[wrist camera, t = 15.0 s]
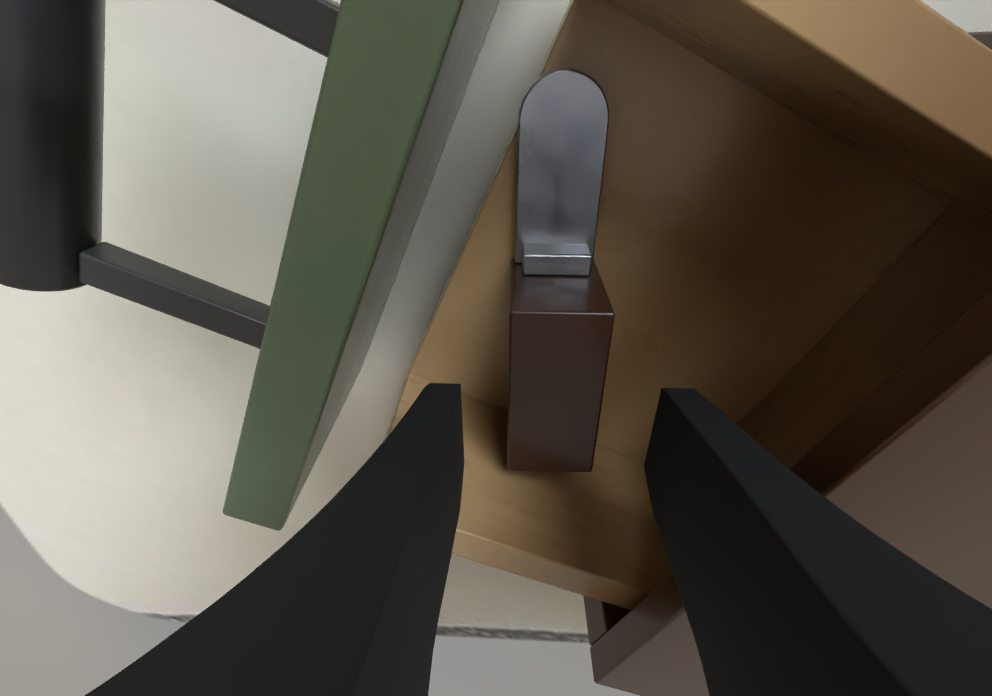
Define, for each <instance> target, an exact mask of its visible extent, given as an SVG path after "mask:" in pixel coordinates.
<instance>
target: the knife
mask: <svg viewBox="0 0 992 696" xmlns="http://www.w3.org/2000/svg"><path fill="white" fill-rule="evenodd" d="M608 126H609V106H608V102H607V99H606V96H605V94H604V92H603V90H602V88H601V87H600V85H599V84H598V83H597V82H596V81H595V80H594V79H593V78H592V77H590V76H589V75H587V74H586V73H583V72H581V71H578V70H574V69H557V70H553V71H550V72H548V73H546V74H544V75H542V76H541V77H540V78H538V79H537V80H536V81H535V82H534V83H533V84H532V85H531V86H530V87H529V89H528V90H527V92H526V93H525V95H524V97H523V99H522V102H521V105H520V109H519V114H518V145H517V190H516V235H515V259H511V269H510V308H509V364H508V423H507V469H508V470H526V471H563V472H591V471H592V468H593V461H594V454H595V448H596V441H597V434H598V427H599V420H600V414H601V407H602V400H603V393H604V386H605V380H606V373H607V366H608V359H609V353H610V346H611V339H612V332H613V325H614V319H615V313H614V310H613V308H612V305H611V302H610V300H609V297H608V294H607V292H606V289H605V287H604V284H603V281H602V279H601V276H600V273H599V271H598V268H597V266H596V263H595V260H593V259H594V250H595V241H596V232H597V223H598V214H599V206H600V197H601V188H602V179H603V170H604V161H605V152H606V144H607V135H608Z"/></svg>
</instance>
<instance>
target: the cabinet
mask: <svg viewBox="0 0 992 696" xmlns="http://www.w3.org/2000/svg"><path fill="white" fill-rule="evenodd" d="M968 34H969V35H971V36H972V37H974V38H975V39H977V40H978V41H979V42H981V43H982V44H984V45H985V46H987V47H988V48H990V49H991V50H992V32H971V33H968ZM789 469H790V470H791V471H792V472H793V473H795V474H796V475H797V476H798V477H800V478H801V479H802V480H803V481H805V482H806V483H807V484H808V485H810V486H811V487H812V488H814V489H815V490H816V491H818V492H819V493H820V494H822V495H823V496H824V497H825V498H827V499H828V500H829V501H831V502H832V503H833V504H835V505H836V506H837V507H839V508H840V509H841V510H843V511H844V512H845V513H847V514H848V515H849V516H851V517H852V518H853V519H855V520H856V521H858V522H859V523H860V524H862V525H863V526H865V527H866V528H867V529H869V530H870V531H872V532H873V533H874V534H876V535H877V536H879V537H880V538H882V539H883V540H885V541H886V542H888V543H889V544H891V545H892V546H894V547H895V548H897V549H898V550H900V551H901V552H903V553H904V554H906V555H907V556H909V557H910V558H912V559H913V560H915V561H916V562H917V563H919V564H920V565H922V566H923V567H925V568H926V569H928V570H930V571H931V572H933V573H934V574H936V575H937V576H939V577H941V578H942V579H944V580H945V581H947V582H948V583H950V584H952V585H953V586H955V587H956V588H958V589H960V590H961V591H963V592H964V593H966V594H968V595H969V596H971V597H973V598H974V599H976V600H978V601H979V602H981V603H983V604H984V605H986V606H988V607H989V608H991V609H992V287H991V288H990V289H989V290H988V291H987V292H985V293H984V294H983V295H982V296H981V297H980V298H979V299H978V300H977V301H975V302H974V303H973V304H972V305H971V306H970V307H969V308H968V309H966V310H965V311H964V312H963V313H962V314H961V315H960V316H959V317H958V318H956V319H955V320H954V321H953V322H952V323H951V324H950V325H949V326H948V327H946V328H945V329H944V330H943V331H942V332H941V333H940V334H939V335H937V336H936V337H935V338H934V339H933V340H932V341H931V342H930V343H929V344H927V345H926V346H925V347H924V348H923V349H922V350H921V351H920V352H919V353H917V354H916V355H915V356H914V357H913V358H912V359H911V360H910V361H909V362H907V363H906V364H905V365H904V366H903V367H902V368H901V369H900V370H898V371H897V372H896V373H895V374H894V375H893V376H892V377H891V378H890V379H888V380H887V381H886V382H885V383H884V384H883V385H882V386H881V387H880V388H878V389H877V390H876V391H875V392H874V393H873V394H872V395H871V396H869V397H868V398H867V399H866V400H865V401H864V402H863V403H862V404H861V405H859V406H858V407H857V408H856V409H855V410H854V411H853V412H852V413H851V414H849V415H848V416H847V417H846V418H845V419H844V420H843V421H842V422H840V423H839V424H838V425H837V426H836V427H835V428H834V429H833V430H832V431H830V432H829V433H828V434H827V435H826V436H825V437H824V438H823V439H822V440H820V441H819V442H818V443H817V444H816V445H815V446H814V447H813V448H811V449H810V450H809V451H808V452H807V453H806V454H805V455H804V456H803V457H801V458H800V459H799V460H798V461H797V462H796V463H795V464H794V465H793V466H791V467H790V468H789ZM583 596H584V604H585V612H586V620H587V628H588V636H589V643H590V645H591V649H590V651H591V659H592V667H593V675H594V681H595V683H597V684H601V685H604V686H608V687H611V688H615V689H619V690H622V691H626V692H630V693H633V694H637V695H640V696H709V692H708V688H707V683H706V679H705V675H704V671H703V667H702V663H701V659H700V656H699V652H698V649H697V645H696V642H695V639H694V635H693V632H692V629H691V626H690V623H689V620H688V617H687V614H686V611H685V608H684V605H683V602H682V599H681V596H680V593H679V591H678V588H677V585H676V582H675V579H674V576H673V573H672V574H671V575H670V576H669V577H668V578H667V579H665V580H664V581H663V582H662V583H661V584H660V585H659V586H658V587H656V588H655V589H654V590H653V591H652V592H651V593H650V594H649V595H648V596H646V597H645V598H644V599H643V600H642V601H641V602H640V603H639V604H638V605H636V606H635V607H634V608H633V609H632V610H629V609H626V608H623V607H620V606H616V605H613V604H610V603H607V602H604V601H600V600H597V599H594V598H591V597H588V596H585V595H583Z"/></svg>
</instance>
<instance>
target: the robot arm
mask: <svg viewBox="0 0 992 696" xmlns="http://www.w3.org/2000/svg"><path fill="white" fill-rule="evenodd" d="M644 470H645V475H646V480H647V486H648V491H649V496H650V501H651V506H652V510H653V515H654V518H655V521H656V524H657V528H658V531H659V534H660V537H661V540H662V543H663V546H664V549H665V552H666V555H667V558H668V561H669V564H670V567H671V570H672V573H673V576H674V579H675V582H676V585H677V588H678V591H679V593H680V596H681V599H682V602H683V605H684V608H685V611H686V614H687V617H688V620H689V623H690V626H691V629H692V632H693V635H694V639H695V642H696V645H697V649H698V652H699V656H700V659H701V663H702V667H703V671H704V675H705V679H706V683H707V688H708V692H709V696H992V609H991V608H989V607H988V606H986V605H984V604H983V603H981V602H979V601H978V600H976V599H974V598H973V597H971V596H969V595H968V594H966V593H964V592H963V591H961V590H960V589H958V588H956V587H955V586H953V585H952V584H950V583H948V582H947V581H945V580H944V579H942V578H941V577H939V576H937V575H936V574H934V573H933V572H931V571H930V570H928V569H926V568H925V567H923V566H922V565H920V564H919V563H917V562H916V561H915V560H913V559H912V558H910V557H909V556H907V555H906V554H904V553H903V552H901V551H900V550H898V549H897V548H895V547H894V546H892V545H891V544H889V543H888V542H886V541H885V540H883V539H882V538H880V537H879V536H877V535H876V534H874V533H873V532H872V531H870V530H869V529H867V528H866V527H865V526H863V525H862V524H860V523H859V522H858V521H856V520H855V519H853V518H852V517H851V516H849V515H848V514H847V513H845V512H844V511H843V510H841V509H840V508H839V507H837V506H836V505H835V504H833V503H832V502H831V501H829V500H828V499H827V498H825V497H824V496H823V495H822V494H820V493H819V492H818V491H816V490H815V489H814V488H812V487H811V486H810V485H808V484H807V483H806V482H805V481H803V480H802V479H801V478H800V477H798V476H797V475H796V474H795V473H793V472H792V471H791V470H790V469H788V468H787V467H786V466H785V465H784V464H782V463H781V462H780V461H779V460H777V459H776V458H775V457H774V456H773V455H772V454H770V453H769V452H768V451H767V450H766V449H764V448H763V447H762V446H761V445H760V444H758V443H757V442H756V441H755V440H754V439H753V438H751V437H750V436H749V435H748V434H747V433H746V432H745V431H743V430H742V429H741V428H740V427H739V426H738V425H736V424H735V423H734V422H733V421H732V420H731V419H730V418H728V417H727V416H726V415H725V414H724V413H723V412H722V411H720V410H719V409H718V408H717V407H716V406H715V405H713V404H712V403H711V402H710V401H709V400H708V399H706V398H705V397H704V396H703V395H702V394H700V393H699V392H698V391H697V390H695V389H694V388H661V392H660V396H659V401H658V405H657V410H656V414H655V419H654V423H653V428H652V432H651V437H650V441H649V445H648V450H647V454H646V459H645V463H644ZM463 473H464V441H463V420H462V399H461V384H454V383H429V384H428V385H427V386H425V387H424V388H423V390H422V391H421V393H420V394H419V396H418V397H417V399H416V400H415V401H414V403H413V404H412V406H411V407H410V408H409V410H408V411H407V412H406V414H405V415H404V416H403V418H402V419H401V420H400V422H399V423H398V424H397V425H396V427H395V428H394V429H393V431H392V432H391V433H390V434H389V435H388V437H387V438H386V439H385V440H384V441H383V443H382V444H381V445H380V446H379V448H378V449H377V450H376V451H375V452H374V454H373V455H372V456H371V457H370V458H369V460H368V461H367V462H366V463H365V464H364V465H363V466H362V467H361V468H360V470H359V471H358V472H357V473H356V474H355V475H354V476H353V477H352V478H351V479H350V480H349V481H348V483H347V484H346V485H345V486H344V487H343V488H342V489H341V490H340V491H339V492H338V493H337V494H336V495H335V497H334V498H333V499H332V500H331V501H330V502H329V503H328V504H327V505H326V506H325V507H324V508H323V509H322V510H321V511H320V512H319V513H318V514H317V515H315V516H314V517H313V518H312V519H311V520H310V521H309V522H308V523H307V524H306V525H305V526H304V527H303V528H302V529H301V530H300V531H298V532H297V533H296V534H295V535H294V536H293V537H292V538H291V539H290V540H289V541H288V542H287V543H285V544H284V545H283V546H282V547H281V548H280V549H279V550H277V551H276V552H275V553H274V554H273V555H272V556H270V557H269V558H268V559H267V560H266V561H264V562H263V563H262V564H261V565H260V566H259V567H257V568H256V569H255V570H254V571H253V572H252V573H250V574H249V575H248V576H247V577H246V578H245V579H243V580H242V581H241V582H240V583H238V584H237V585H236V586H235V587H233V588H232V589H231V590H230V591H229V592H227V593H226V594H225V595H223V596H222V597H221V598H220V599H218V600H217V601H216V602H215V603H213V604H212V605H211V606H209V607H208V608H207V609H205V610H204V611H203V612H201V613H200V614H199V615H197V616H196V617H195V618H193V619H192V620H190V621H189V622H188V623H186V624H185V625H184V626H182V627H181V628H180V629H179V630H177V631H176V632H174V633H173V634H172V635H170V636H169V637H168V638H166V639H165V640H164V641H162V642H161V643H159V644H158V645H157V646H155V647H154V648H153V649H152V650H150V651H149V652H147V653H146V654H145V655H143V656H142V657H141V658H139V659H138V660H136V661H135V662H133V663H132V664H131V665H129V666H128V667H126V668H125V669H123V670H122V671H121V672H119V673H118V674H116V675H115V676H113V677H112V678H110V679H109V680H108V681H106V682H105V683H103V684H102V685H100V686H99V687H97V688H96V689H94V690H93V691H91V692H90V693H88V694H86V695H85V696H428V689H429V681H430V671H431V663H432V654H433V647H434V642H435V635H436V629H437V623H438V618H439V613H440V608H441V603H442V598H443V593H444V588H445V583H446V579H447V574H448V569H449V564H450V559H451V554H452V549H453V544H454V539H455V534H456V528H457V523H458V518H459V513H460V506H461V496H462V485H463Z"/></svg>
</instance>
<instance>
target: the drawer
mask: <svg viewBox="0 0 992 696" xmlns="http://www.w3.org/2000/svg"><path fill="white" fill-rule="evenodd" d="M214 1H216V2H218V3H220V4H222V5H224V6H226V7H228V8H230V9H232V10H234V11H236V12H238V13H240V14H242V15H244V16H246V17H248V18H250V19H252V20H254V21H256V22H258V23H260V24H262V25H264V26H266V27H268V28H270V29H272V30H274V31H276V32H278V33H280V34H282V35H284V36H286V37H288V38H290V39H292V40H294V41H296V42H298V43H300V44H302V45H304V46H306V47H308V48H310V49H312V50H314V51H316V52H318V53H320V54H322V55H324V56H326V57H328V59H327V63H326V67H325V72H324V76H323V80H322V85H321V89H320V93H319V98H318V102H317V106H316V111H315V115H314V119H313V124H312V128H311V132H310V137H309V141H308V145H307V149H306V154H305V158H304V162H303V167H302V171H301V175H300V180H299V184H298V188H297V193H296V197H295V201H294V206H293V210H292V214H291V219H290V223H289V227H288V232H287V236H286V240H285V245H284V249H283V253H282V257H281V262H280V266H279V270H278V275H277V279H276V283H275V288H274V292H273V296H272V301H271V305H270V306H268V305H266V304H263V303H261V302H258V301H256V300H253V299H251V298H248V297H245V296H243V295H240V294H238V293H235V292H233V291H230V290H227V289H225V288H222V287H220V286H217V285H215V284H212V283H210V282H207V281H204V280H202V279H199V278H197V277H194V276H192V275H189V274H187V273H184V272H181V271H179V270H176V269H174V268H171V267H169V266H166V265H164V264H161V263H158V262H156V261H153V260H151V259H148V258H146V257H143V256H140V255H138V254H135V253H133V252H130V251H128V250H125V249H123V248H120V247H117V246H115V245H112V244H110V243H107V242H101V235H102V176H103V117H104V58H105V0H0V284H2V285H5V286H9V287H13V288H17V289H23V290H30V291H64V290H70V289H75V288H79V287H82V286H85V285H90V286H93V287H96V288H98V289H101V290H104V291H106V292H109V293H112V294H114V295H117V296H120V297H122V298H125V299H128V300H130V301H133V302H136V303H139V304H141V305H144V306H147V307H149V308H152V309H155V310H157V311H160V312H163V313H165V314H168V315H171V316H173V317H176V318H179V319H182V320H184V321H187V322H190V323H192V324H195V325H198V326H200V327H203V328H206V329H208V330H211V331H214V332H216V333H219V334H222V335H225V336H227V337H230V338H233V339H235V340H238V341H241V342H243V343H246V344H249V345H251V346H254V347H257V348H259V349H260V353H259V357H258V361H257V365H256V370H255V374H254V378H253V383H252V387H251V391H250V396H249V400H248V404H247V409H246V413H245V417H244V422H243V426H242V430H241V435H240V439H239V443H238V448H237V452H236V456H235V461H234V465H233V469H232V473H231V478H230V482H229V486H228V491H227V495H226V499H225V504H224V508H223V513H224V514H225V515H228V516H231V517H234V518H238V519H241V520H244V521H247V522H251V523H254V524H257V525H261V526H264V527H267V528H271V529H274V530H281V529H282V528H283V526H284V524H285V522H286V520H287V518H288V516H289V514H290V512H291V510H292V508H293V506H294V504H295V502H296V500H297V498H298V496H299V494H300V492H301V490H302V488H303V486H304V484H305V482H306V480H307V478H308V476H309V474H310V472H311V470H312V468H313V466H314V463H315V461H316V459H317V457H318V455H319V453H320V451H321V449H322V447H323V445H324V443H325V441H326V439H327V437H328V435H329V433H330V431H331V429H332V427H333V425H334V423H335V421H336V419H337V417H338V415H339V413H340V411H341V409H342V407H343V405H344V403H345V401H346V399H347V396H348V394H349V392H350V390H351V388H352V386H353V384H354V382H355V380H356V378H357V376H358V374H359V372H360V370H361V367H362V364H363V362H364V359H365V356H366V354H367V351H368V348H369V346H370V343H371V340H372V338H373V335H374V332H375V330H376V327H377V324H378V322H379V319H380V316H381V314H382V311H383V308H384V306H385V303H386V300H387V298H388V295H389V292H390V290H391V287H392V284H393V282H394V279H395V276H396V274H397V271H398V268H399V266H400V263H401V260H402V258H403V255H404V252H405V250H406V247H407V244H408V242H409V239H410V237H411V234H412V231H413V229H414V226H415V223H416V221H417V218H418V215H419V213H420V210H421V207H422V205H423V202H424V199H425V197H426V194H427V191H428V189H429V186H430V183H431V181H432V178H433V175H434V173H435V170H436V167H437V165H438V162H439V159H440V157H441V154H442V151H443V149H444V146H445V143H446V141H447V138H448V135H449V133H450V130H451V127H452V125H453V122H454V119H455V117H456V114H457V111H458V109H459V106H460V103H461V101H462V98H463V95H464V93H465V90H466V87H467V85H468V82H469V79H470V77H471V74H472V71H473V69H474V66H475V63H476V61H477V58H478V55H479V53H480V50H481V47H482V45H483V42H484V39H485V37H486V34H487V31H488V29H489V26H490V23H491V21H492V18H493V15H494V13H495V10H496V7H497V5H498V2H499V0H341V3H340V4H338V3H336V2H334V1H333V0H214ZM557 69H574V70H578V71H581V72H583V73H586V74H587V75H589V76H590V77H592V78H593V79H594V80H595V81H596V82H597V83H598V84H599V85H600V87H601V88H602V90H603V92H604V94H605V96H606V99H607V102H608V106H609V126H608V135H607V144H606V152H605V161H604V170H603V179H602V188H601V197H600V206H599V214H598V223H597V232H596V241H595V250H594V259H593V260H595V263H596V266H597V268H598V271H599V273H600V276H601V279H602V281H603V284H604V287H605V289H606V292H607V294H608V297H609V300H610V302H611V305H612V308H613V310H614V313H615V319H614V325H613V332H612V339H611V346H610V353H609V359H608V366H607V373H606V380H605V386H604V393H603V400H602V407H601V414H600V420H599V427H598V434H597V441H596V448H595V454H594V461H593V468H592V471H591V472H563V471H526V470H508V469H507V423H508V364H509V308H510V269H511V259H515V235H516V190H517V145H518V122H517V124H516V127H515V129H514V131H513V133H512V136H511V138H510V140H509V142H508V145H507V147H506V149H505V151H504V154H503V156H502V158H501V161H500V163H499V165H498V167H497V170H496V172H495V174H494V176H493V179H492V181H491V183H490V185H489V188H488V190H487V192H486V195H485V197H484V199H483V201H482V204H481V206H480V208H479V210H478V213H477V215H476V217H475V219H474V222H473V224H472V226H471V229H470V231H469V233H468V235H467V238H466V240H465V242H464V244H463V247H462V249H461V251H460V253H459V256H458V258H457V260H456V263H455V265H454V267H453V269H452V272H451V274H450V276H449V278H448V281H447V283H446V285H445V287H444V290H443V292H442V294H441V297H440V299H439V301H438V303H437V306H436V308H435V310H434V312H433V315H432V317H431V319H430V321H429V324H428V326H427V328H426V331H425V333H424V335H423V337H422V340H421V342H420V344H419V346H418V349H417V351H416V353H415V355H414V358H413V360H412V362H411V365H410V367H409V369H408V371H407V374H406V376H405V379H404V382H403V385H402V388H401V391H400V393H399V396H398V399H397V402H396V405H395V408H394V411H393V414H392V417H391V420H390V422H389V425H388V428H387V431H386V434H385V437H384V440H385V439H386V438H387V437H388V435H389V434H390V433H391V432H392V431H393V429H394V428H395V427H396V425H397V424H398V423H399V422H400V420H401V419H402V418H403V416H404V415H405V414H406V412H407V411H408V410H409V408H410V407H411V406H412V404H413V403H414V401H415V400H416V399H417V397H418V396H419V394H420V393H421V391H422V390H423V388H424V387H425V386H427V385H428V384H429V383H454V384H461V399H462V420H463V441H464V473H463V485H462V496H461V506H460V513H459V518H458V523H457V528H456V534H455V539H454V544H453V549H452V554H454V555H457V556H461V557H464V558H467V559H470V560H473V561H476V562H480V563H483V564H486V565H489V566H492V567H496V568H499V569H502V570H505V571H508V572H511V573H515V574H518V575H521V576H524V577H527V578H531V579H534V580H537V581H540V582H543V583H546V584H550V585H553V586H556V587H559V588H562V589H566V590H569V591H572V592H575V593H578V594H581V595H585V596H588V597H591V598H594V599H597V600H600V601H604V602H607V603H610V604H613V605H616V606H620V607H623V608H626V609H629V610H632V609H633V608H634V607H635V606H636V605H638V604H639V603H640V602H641V601H642V600H643V599H644V598H645V597H646V596H648V595H649V594H650V593H651V592H652V591H653V590H654V589H655V588H656V587H658V586H659V585H660V584H661V583H662V582H663V581H664V580H665V579H667V578H668V577H669V576H670V575H671V574H672V570H671V567H670V564H669V561H668V558H667V555H666V552H665V549H664V546H663V543H662V540H661V537H660V534H659V531H658V528H657V524H656V521H655V518H654V515H653V510H652V506H651V501H650V496H649V491H648V486H647V480H646V475H645V470H644V463H645V459H646V454H647V450H648V445H649V441H650V437H651V432H652V428H653V423H654V419H655V414H656V410H657V405H658V401H659V396H660V392H661V388H694V389H695V390H697V391H698V392H699V393H700V394H702V395H703V396H704V397H705V398H706V399H708V400H709V401H710V402H711V403H712V404H713V405H715V406H716V407H717V408H718V409H719V410H720V411H722V412H723V413H724V414H725V415H726V416H727V417H728V418H730V419H731V420H732V421H733V422H734V423H735V424H736V425H738V426H739V427H740V428H741V429H742V430H743V431H745V432H746V433H747V434H748V435H749V436H750V437H751V438H753V439H754V440H755V441H756V442H757V443H758V444H760V445H761V446H762V447H763V448H764V449H766V450H767V451H768V452H769V453H770V454H772V455H773V456H774V457H775V458H776V459H777V460H779V461H780V462H781V463H782V464H784V465H785V466H786V467H787V468H788V469H789V468H790V467H791V466H793V465H794V464H795V463H796V462H797V461H798V460H799V459H800V458H801V457H803V456H804V455H805V454H806V453H807V452H808V451H809V450H810V449H811V448H813V447H814V446H815V445H816V444H817V443H818V442H819V441H820V440H822V439H823V438H824V437H825V436H826V435H827V434H828V433H829V432H830V431H832V430H833V429H834V428H835V427H836V426H837V425H838V424H839V423H840V422H842V421H843V420H844V419H845V418H846V417H847V416H848V415H849V414H851V413H852V412H853V411H854V410H855V409H856V408H857V407H858V406H859V405H861V404H862V403H863V402H864V401H865V400H866V399H867V398H868V397H869V396H871V395H872V394H873V393H874V392H875V391H876V390H877V389H878V388H880V387H881V386H882V385H883V384H884V383H885V382H886V381H887V380H888V379H890V378H891V377H892V376H893V375H894V374H895V373H896V372H897V371H898V370H900V369H901V368H902V367H903V366H904V365H905V364H906V363H907V362H909V361H910V360H911V359H912V358H913V357H914V356H915V355H916V354H917V353H919V352H920V351H921V350H922V349H923V348H924V347H925V346H926V345H927V344H929V343H930V342H931V341H932V340H933V339H934V338H935V337H936V336H937V335H939V334H940V333H941V332H942V331H943V330H944V329H945V328H946V327H948V326H949V325H950V324H951V323H952V322H953V321H954V320H955V319H956V318H958V317H959V316H960V315H961V314H962V313H963V312H964V311H965V310H966V309H968V308H969V307H970V306H971V305H972V304H973V303H974V302H975V301H977V300H978V299H979V298H980V297H981V296H982V295H983V294H984V293H985V292H987V291H988V290H989V289H990V288H991V287H992V50H991V49H990V48H988V47H987V46H985V45H984V44H982V43H981V42H979V41H978V40H977V39H975V38H974V37H972V36H971V35H969V34H968V33H966V32H965V31H964V30H962V29H961V28H959V27H958V26H956V25H955V24H954V23H952V22H951V21H949V20H948V19H946V18H945V17H943V16H942V15H941V14H939V13H938V12H936V11H935V10H933V9H932V8H930V7H929V6H928V5H926V4H925V3H923V2H922V1H920V0H571V2H570V4H569V6H568V9H567V11H566V13H565V15H564V18H563V20H562V22H561V24H560V27H559V29H558V31H557V34H556V36H555V38H554V40H553V43H552V45H551V47H550V49H549V52H548V54H547V56H546V59H545V61H544V63H543V65H542V68H541V70H540V72H539V74H538V77H537V79H538V78H540V77H541V76H542V75H544V74H546V73H548V72H550V71H553V70H557ZM537 79H536V80H537ZM384 440H383V441H384Z"/></svg>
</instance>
